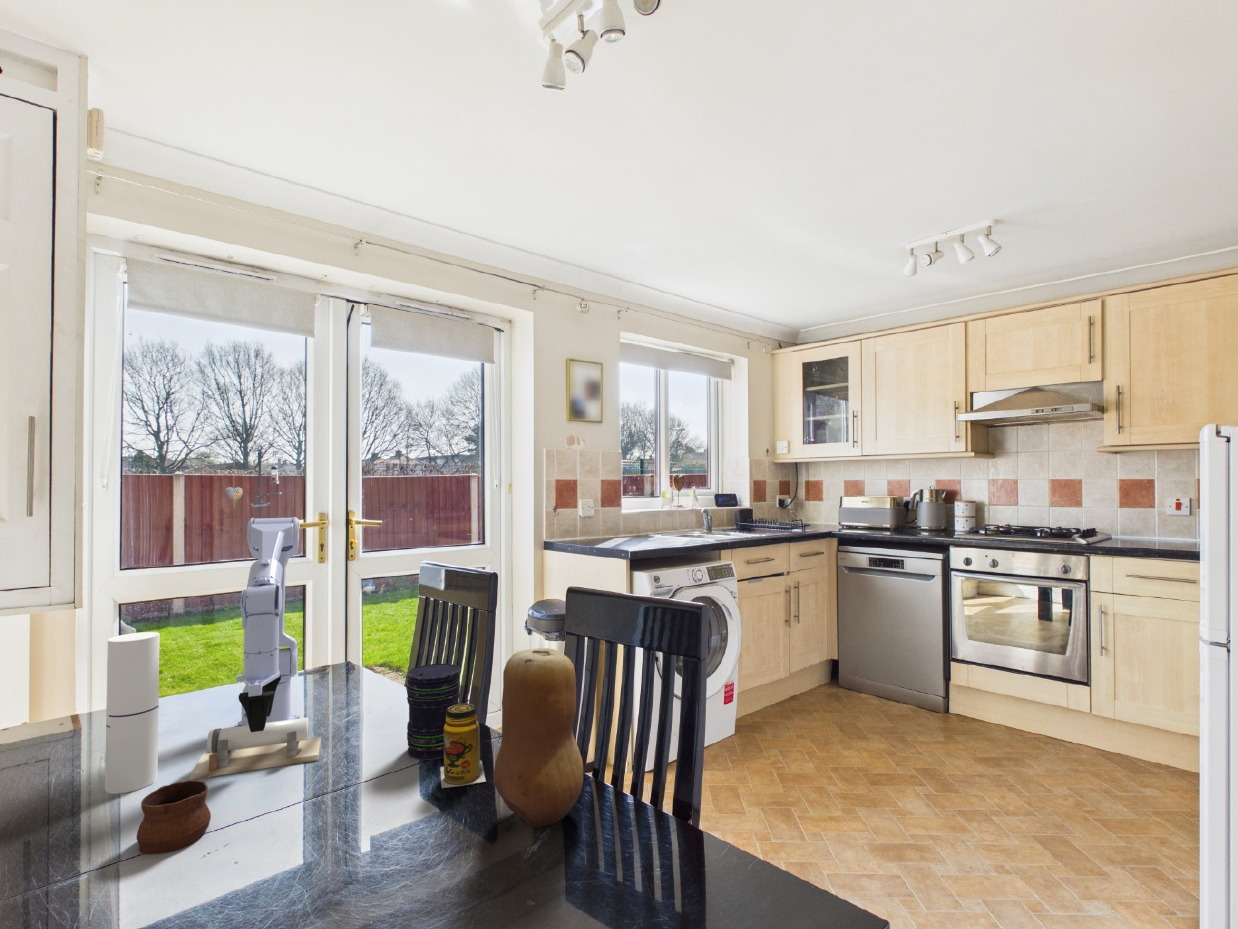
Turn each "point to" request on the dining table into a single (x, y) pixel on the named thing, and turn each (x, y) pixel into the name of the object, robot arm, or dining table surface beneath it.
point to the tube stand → (256, 757)
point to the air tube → (257, 735)
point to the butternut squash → (539, 737)
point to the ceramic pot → (173, 817)
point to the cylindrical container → (132, 712)
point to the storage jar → (430, 707)
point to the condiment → (461, 747)
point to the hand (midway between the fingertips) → (260, 723)
